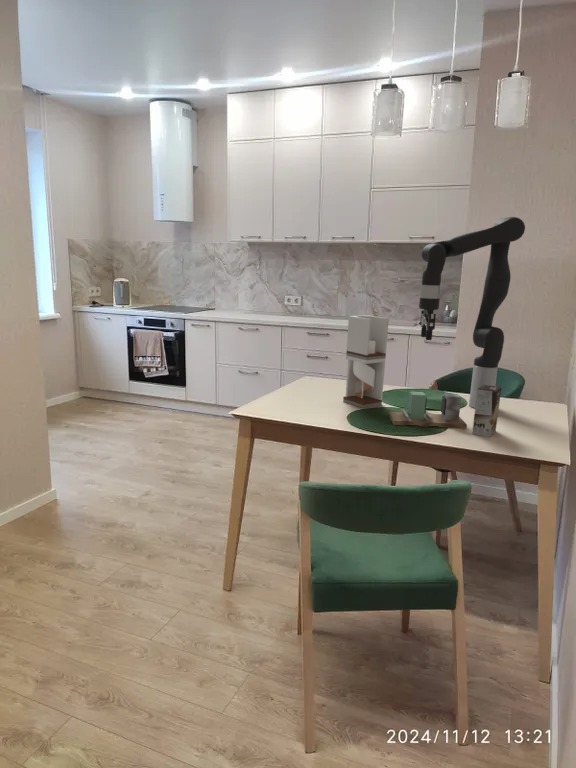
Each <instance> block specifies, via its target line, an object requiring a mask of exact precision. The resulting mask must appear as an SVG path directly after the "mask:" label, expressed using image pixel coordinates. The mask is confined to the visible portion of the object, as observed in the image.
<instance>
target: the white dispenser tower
mask: <svg viewBox="0 0 576 768" xmlns="http://www.w3.org/2000/svg"><path fill="white" fill-rule="evenodd" d="M389 321H390V319H389V318H388V317H381V316H376V315H348V325H347V337H346V338H347V340H346V341H347V342H346V355H345V359H346V360H347V369H346V371H347V372H346V384H345V385H346V387H345V396H343V398H342V399H343V401H342V402H344V403H345V404H350V405H352V406H356V407H359V408H360V409H361V408H362V409H365V408H371V407H377V406H382V405H383V403H382V402H383V393H384V392H383V391H384V379H385V370H386V369H385V368H386V357H387V354H386V353H387V344H388V331H389Z"/></svg>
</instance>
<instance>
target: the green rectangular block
mask: <svg viewBox="0 0 576 768" xmlns="http://www.w3.org/2000/svg"><path fill="white" fill-rule="evenodd" d="M408 394H409V395H408V406H407V413H408V416H409V418H410V419H424V414H425V413H426V410H427V403H428V397H427V394H426V393H424V391H409V393H408Z"/></svg>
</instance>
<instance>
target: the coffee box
mask: <svg viewBox="0 0 576 768" xmlns="http://www.w3.org/2000/svg"><path fill="white" fill-rule="evenodd" d="M501 394H502V387H501V386H497V385H496V386H490V385H489V386H488V385H483V386H481V387H480V388H478V390H477V398H476V406H475V408H474V415H473V422H472V430H471V431H472V432H471V434H473V435H477V436H478V435H479V436H482V437H487V438H491V437H492V435H494V434H495V432H496V430H497V426H498V425H497V424H498V417H499V416H498V415H499V409H500V400H501Z"/></svg>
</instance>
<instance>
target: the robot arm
mask: <svg viewBox="0 0 576 768" xmlns="http://www.w3.org/2000/svg"><path fill="white" fill-rule="evenodd" d="M525 229H526V225H525V222H524V221H523V220H522V219H521V218H520V217H516V216H510V217H509V216H508V217H503V218H502V217H501V218H499V219H498V220H496V221H495V223H494V225H493V226H491V227H489V228H486V229H485V228H484V229H480V230H477V231H473V232H472V231H471V232H467V233H463V234H461V235H457V236H455V237H451V238H449V239H446V240H441V241H436V242H432V243H429V244H427V245H425V246H424V247H423V249H422V250H421V258H422V260H423V261H425V262H426V263H427V265H426V269H424V270H423V272H422V276H421V277H422V278H421V286H420V291H419V302H418V308H419V310H421V311H420V312H421V313H420V323H419V325H420V327H421V330H420V336H421V337H422V338H425V340H426V341H432V338H433V331H434V330H435V328H436V327H435V326H436V315H437V314H436V313H434V311H439V308H440V302H441V301H440V299H441V283H442V274H443V273H442V272H443V270H444V268H445V263H446V260H447V258H450V257H458V256H461V255H463V254H466V253H470V252H473V251H475V250H478V249H481V248H484V247H488V246H490V253H489V254H490V255H489V259H488V265H487V270H486V276H485V279H484V284H483V293H482V298H481V302H480V307H479V312H478V315H477V319H476V321H475V326H474V330H473V333H472V342H473V345H474V346H476V347H478V348H480V349H483V351H482V354H481V355H479V356H477V357H475V358H474V361H473V365H472V366H473V368H472V374H471V375H472V376H471V384H470V385H471V386H470V394H469V400H468V401H469V403H468V406H469V407H470V406H471V408H473V407H474V408H473V409H475V406H476V398H477V390H478V388H480V387H481V386H483V385H488V386H489V385H490V386H497V385H496V382H497V376H498V375H497V374H498V368H499V367H498V366H499V363H500V361H501V358H502V353H503V348H504V343H505V334H504V331H503V330H502V329H501V328H500V327H497V326H493V321H494V317H495V315H496V312H497V310H498V309H499V307H500V306H501V305H502V303H504V301H505V299H506V297H507V296H508V293H509V288H510V282H511V270H510V269H511V268H510V264H509V257H508V256H509V251H510V245H511V243H512V242H515V241H518V240H520V238H522V237H523V235H524V233H525V231H526V230H525Z"/></svg>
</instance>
